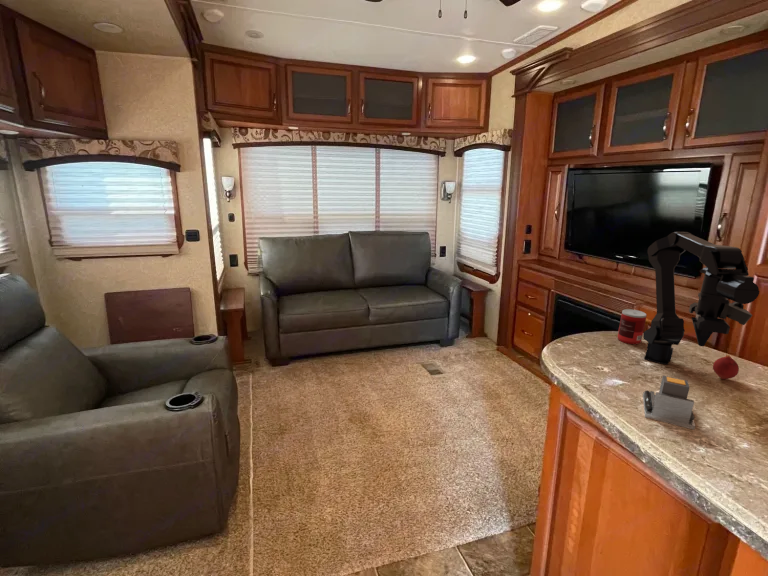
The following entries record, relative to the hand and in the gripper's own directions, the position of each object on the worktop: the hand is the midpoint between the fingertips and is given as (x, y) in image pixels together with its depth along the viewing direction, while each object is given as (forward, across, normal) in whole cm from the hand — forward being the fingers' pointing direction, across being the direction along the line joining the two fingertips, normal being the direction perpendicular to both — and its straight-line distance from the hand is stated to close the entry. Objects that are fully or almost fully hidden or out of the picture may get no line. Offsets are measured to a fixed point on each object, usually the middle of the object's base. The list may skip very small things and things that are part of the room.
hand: (700, 345), depth 111 cm
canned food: (+13, +29, +15) cm, 35 cm away
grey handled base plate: (+12, -20, +7) cm, 24 cm away
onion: (+13, +10, -9) cm, 18 cm away
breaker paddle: (+11, -23, +7) cm, 26 cm away
